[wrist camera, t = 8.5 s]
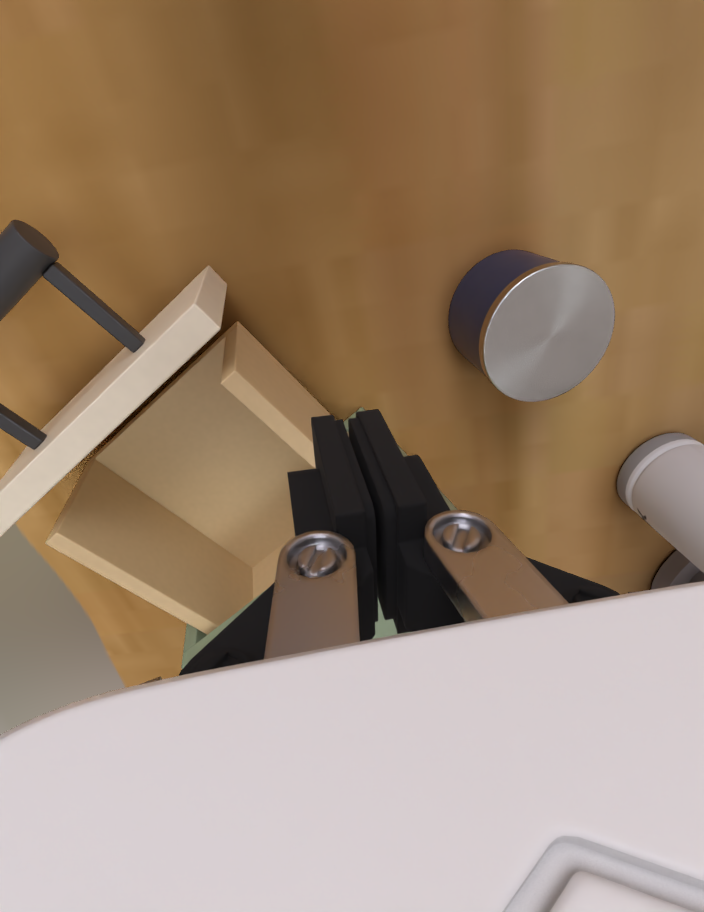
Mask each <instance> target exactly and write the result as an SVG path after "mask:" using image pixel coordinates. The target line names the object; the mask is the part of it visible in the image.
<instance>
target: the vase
mask: <svg viewBox="0 0 704 912" xmlns="http://www.w3.org/2000/svg"><path fill="white" fill-rule="evenodd" d="M702 581H704V573H703V572H702V571H701V570H700V569H698V568H697V567H696V566H695V565H694V564H693V563H692V562H691V561H690V560H688V559H687V558H686V557H685V556H684V555H683V554H682V553H681V552H679V551H678V550H676V551H675V552H674V553H673V554H672V555H671V556H670V557H669V558H668V559H667V560H666V561H665V563H664V564H663V565H662V566H661V568H660V569H659V571H658V572H657V574H656V576H655V578H654V580H653V583H652V588H651V590H652V589H659V588H665V587H670V586H676V585H681V584H687V583H695V582H702Z"/></svg>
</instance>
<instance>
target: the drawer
mask: <svg viewBox="0 0 704 912" xmlns="http://www.w3.org/2000/svg"><path fill="white" fill-rule="evenodd" d="M58 258H59V254H58V252H57V250H56V248H55V247H54V246H53V245H52V243H51V242H50V241H49V240H48V239H47V238H46V237H45V236H43V235H42V234H41V233H40V232H38V231H37V230H36V229H34V228H33V227H31V226H30V225H28V224H26V223H24V222H22V221H19V220H13V221H11V222H10V224H9V225H8V226H7V227H6V228H5V229H4V230H3V232H2V233H1V234H0V321H1V320H2V319H3V318H4V317H5V316H6V315H7V313H8V312H9V311H10V310H11V309H12V308H13V307H14V306H15V305H16V304H17V303H18V302H19V300H20V299H21V298H22V297H23V296H24V295H25V294H26V293H27V292H28V291H29V290H30V289H31V287H32V286H33V285H34V284H35V283H36V282H37V281H38V280H39V279H40V278H41V277H42V276H43V277H44V278H45V279H46V280H47V281H49V282H50V283H51V284H52V285H53V286H55V287H56V288H57V289H58V290H59V291H60V292H62V293H63V294H64V295H65V296H66V297H68V298H69V299H70V300H71V301H72V302H73V303H75V304H76V305H77V306H78V307H79V308H81V309H82V310H83V311H84V312H85V313H86V314H88V315H89V316H90V317H91V318H92V319H94V320H95V321H96V322H97V323H98V324H99V325H101V326H102V327H103V328H104V329H105V330H107V331H108V332H109V333H110V334H111V335H112V336H114V337H115V338H116V339H117V340H118V341H120V342H121V343H122V344H123V345H124V346H125V348H124V349H123V350H121V351H120V352H119V353H118V354H117V355H116V356H115V357H114V358H113V359H112V360H111V361H110V362H109V363H108V364H107V365H106V366H105V367H104V368H103V369H102V370H101V371H100V372H99V373H98V374H97V375H96V376H95V377H94V378H93V379H92V380H91V381H90V382H89V383H88V384H87V385H86V386H85V387H84V388H83V389H82V390H81V391H80V392H79V393H78V394H77V395H76V396H75V397H74V398H73V399H72V400H71V401H70V402H69V403H68V404H67V405H66V406H65V407H64V408H63V409H62V410H61V411H60V412H59V413H58V414H57V415H56V416H55V417H53V418H52V419H51V420H50V421H49V422H48V423H47V424H46V425H45V426H44V427H43V428H42V429H41V430H39V429H37V428H36V427H34V426H33V425H31V424H30V423H29V422H27V421H26V420H24V419H23V418H21V417H20V416H18V415H17V414H15V413H14V412H12V411H11V410H9V409H8V408H6V407H5V406H4V405H2V404H1V403H0V428H1V429H2V430H4V431H5V432H7V433H8V434H10V435H11V436H13V437H15V438H16V439H18V440H19V441H21V442H22V443H24V444H25V445H27V447H26V448H25V449H24V451H23V452H22V453H21V455H20V456H19V457H18V458H17V460H16V461H15V462H14V464H13V465H12V466H11V467H10V469H9V470H8V471H7V473H6V474H5V475H4V477H3V478H2V479H1V480H0V537H1V536H2V535H3V534H4V533H5V532H6V531H7V530H8V529H9V528H10V527H11V526H12V525H13V524H15V523H16V522H17V521H18V520H19V519H20V518H21V517H22V516H23V515H24V514H25V513H26V512H27V511H28V510H29V509H30V508H32V507H33V506H34V505H35V504H36V503H37V502H38V501H39V500H40V499H41V498H42V497H43V496H44V495H45V494H46V493H47V492H49V491H50V490H51V489H52V488H53V487H54V486H55V485H56V484H57V483H58V482H59V481H60V480H61V479H62V478H63V477H64V476H66V475H67V474H68V473H69V472H70V471H71V470H72V469H73V468H74V467H75V466H76V465H77V464H78V463H79V462H80V461H81V460H83V459H84V458H85V457H86V456H87V455H88V454H89V453H90V452H91V451H92V450H93V449H94V448H95V447H96V446H97V445H98V444H100V443H101V442H102V441H103V440H104V439H105V438H106V437H107V436H108V435H109V434H110V433H111V432H112V431H113V430H114V429H115V428H117V427H118V426H119V425H120V424H121V423H122V422H123V421H124V420H125V419H126V418H127V417H128V416H129V415H130V414H131V413H132V412H134V411H135V410H136V409H137V408H138V407H139V406H140V405H141V404H142V403H143V402H144V401H145V400H146V399H147V398H148V397H149V396H150V395H152V394H153V393H154V392H155V391H156V390H157V389H158V388H159V387H160V386H161V385H162V384H163V383H164V382H165V381H166V380H167V379H169V378H170V377H171V376H172V375H173V374H174V373H175V372H176V371H177V370H178V369H179V368H180V367H181V366H182V365H183V364H184V363H186V362H187V361H188V360H189V359H190V358H191V357H192V356H193V355H194V354H195V353H196V352H197V351H198V350H199V349H200V348H201V347H203V346H204V345H205V344H206V343H207V342H208V341H209V340H210V339H211V338H212V337H213V336H214V335H215V334H216V333H217V332H218V331H220V329H221V323H222V316H223V310H224V303H225V297H226V290H227V284H226V283H225V282H224V281H223V279H222V278H221V277H220V276H219V275H218V274H217V273H216V272H215V271H214V270H213V269H212V268H211V267H210V266H207V267H206V268H205V269H204V270H203V271H202V272H201V273H200V274H199V275H198V276H197V277H196V278H195V279H194V280H193V281H192V282H191V283H189V284H188V285H187V286H186V287H185V288H184V289H183V290H182V291H181V292H180V293H179V294H178V295H177V296H176V297H175V298H174V299H173V300H172V301H171V302H170V303H169V304H168V305H167V306H166V307H165V308H164V309H163V310H162V311H161V312H160V313H159V314H158V315H157V316H156V317H155V318H154V319H153V320H152V321H151V322H150V323H149V324H148V325H147V326H146V327H145V328H144V329H143V330H142V331H141V332H140V333H138V332H137V331H136V330H135V329H134V328H133V327H131V326H130V325H129V324H128V323H127V322H126V321H125V320H123V319H122V318H121V317H120V316H119V315H118V314H117V313H115V312H114V311H113V310H112V309H111V308H110V307H109V306H107V305H106V304H105V303H104V302H103V301H102V300H101V299H99V298H98V297H97V296H96V295H95V294H94V293H93V292H91V291H90V290H89V289H88V288H87V287H86V286H85V285H83V284H82V283H81V282H80V281H79V280H78V279H77V278H75V277H74V276H73V275H72V274H71V273H70V272H69V271H67V270H66V269H65V268H64V267H63V266H62V265H61V264H59V263H58V262H56V263H55V261H56V260H57V259H58ZM326 415H331V414H330V413H329V412H328V411H327V410H326V409H325V408H324V407H323V406H322V405H321V404H320V403H319V402H318V401H317V400H316V399H315V398H314V397H313V396H312V395H311V394H310V393H309V392H308V391H307V390H306V389H305V388H304V387H303V386H302V385H301V384H300V383H299V382H298V381H297V380H296V379H295V378H294V377H293V376H292V375H291V374H290V373H289V372H288V371H287V370H286V369H285V368H284V367H283V366H282V365H281V364H280V363H279V362H278V361H277V360H276V359H275V358H274V357H273V356H272V355H271V354H270V353H269V352H268V351H267V350H266V349H265V348H264V347H263V346H262V345H261V344H260V343H259V342H258V341H257V340H256V339H255V338H254V337H253V336H252V335H251V334H250V333H249V332H248V331H247V330H246V329H245V328H244V327H243V326H242V325H241V324H240V323H239V322H238V321H237V322H236V323H234V324H233V325H232V326H231V327H230V328H229V329H228V330H227V331H226V332H225V333H224V334H223V335H222V336H221V337H220V338H218V339H217V340H216V341H215V342H214V343H213V344H212V345H211V346H210V347H209V348H208V349H207V350H206V351H205V352H204V353H202V354H201V355H200V356H199V357H198V358H197V359H196V360H195V361H194V362H193V363H192V364H191V365H190V366H189V367H188V368H186V369H185V370H184V371H183V372H182V373H181V374H180V375H179V376H178V377H177V378H176V379H175V380H174V381H173V382H172V383H170V384H169V385H168V386H167V387H166V388H165V389H164V390H163V391H162V392H161V393H160V394H159V395H158V396H157V397H156V398H154V399H153V400H152V401H151V402H150V403H149V404H148V405H147V406H146V407H145V408H144V409H143V410H142V411H141V412H140V413H138V414H137V415H136V416H135V417H134V418H133V419H132V420H131V421H130V422H129V423H128V424H127V425H126V426H125V427H124V428H122V429H121V430H120V431H119V432H118V433H117V434H116V435H115V436H114V437H113V438H112V439H111V440H110V441H109V442H108V443H106V444H105V445H104V446H103V447H102V448H101V449H100V450H99V451H98V452H97V453H96V454H95V455H94V456H93V457H92V458H90V459H89V461H88V463H87V465H86V466H85V468H84V470H83V472H82V474H81V476H80V478H79V480H78V482H77V484H76V485H75V487H74V489H73V491H72V493H71V495H70V497H69V499H68V501H67V502H66V504H65V506H64V508H63V510H62V512H61V514H60V516H59V518H58V519H57V521H56V523H55V525H54V527H53V529H52V531H51V533H50V535H49V536H48V538H47V540H46V542H45V544H47V545H48V546H50V547H52V548H54V549H56V550H57V551H59V552H61V553H63V554H64V555H66V556H68V557H70V558H72V559H73V560H75V561H77V562H79V563H80V564H82V565H84V566H86V567H88V568H89V569H91V570H93V571H95V572H96V573H98V574H100V575H102V576H104V577H105V578H107V579H109V580H111V581H112V582H114V583H116V584H118V585H120V586H121V587H123V588H125V589H127V590H129V591H130V592H132V593H134V594H136V595H137V596H139V597H141V598H143V599H145V600H146V601H148V602H150V603H152V604H153V605H155V606H157V607H159V608H161V609H162V610H164V611H166V612H168V613H169V614H171V615H173V616H175V617H177V618H178V619H180V620H182V621H184V622H185V623H187V624H189V625H191V626H193V627H194V628H196V629H198V630H200V631H202V632H203V633H205V634H207V635H208V634H209V633H210V632H212V631H213V630H214V629H216V628H217V627H218V626H220V625H221V624H222V623H223V622H225V621H226V620H227V619H229V618H230V617H231V616H232V615H234V614H235V613H236V612H238V611H239V610H240V609H242V608H243V607H244V606H245V605H247V604H248V603H249V602H251V601H252V600H253V599H254V598H256V597H257V596H258V595H260V594H261V593H262V592H264V591H265V590H266V589H267V588H269V587H270V586H271V585H272V584H273V583H274V582H275V577H276V570H277V563H278V557H279V554H280V551H281V549H282V548H283V547H284V545H285V544H286V543H287V542H288V541H290V540H291V539H293V538H294V537H295V531H294V523H293V515H292V507H291V498H290V490H289V482H288V474H287V472H292V471H300V470H307V469H315V468H316V467H315V457H314V447H313V437H312V427H311V417H318V416H326ZM347 433H348V432H347ZM348 436H349V433H348Z"/></svg>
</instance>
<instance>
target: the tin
mask: <svg viewBox="0 0 704 912" xmlns="http://www.w3.org/2000/svg"><path fill="white" fill-rule="evenodd" d="M448 320H449V331H450V335H451V338H452V341H453V343H454V345H455V347H456V348H457V350H458V351H459V352H460V353H461V354H462V355H463V356H464V357H465V358H466V359H467V360H468V361H469V362H471V363H472V364H473V365H474V366H475V367H476V368H477V369H478V370H480V371H481V372H482V373H483V374H484V375H485V376H486V377H487V378H488V380H489V381H490V382H491V383H492V384H493V385H494V386H495V387H496V388H497V389H498V390H499V391H500V392H502V393H503V394H505V395H506V396H508V397H510V398H513V399H516V400H520V401H527V402H536V401H543V400H548V399H551V398H554V397H557V396H559V395H561V394H564V393H566V392H567V391H569V390H571V389H572V388H574V387H575V386H576V385H578V384H579V383H580V382H581V381H583V380H584V379H585V378H586V377H587V376H588V375H589V374H590V373H591V372H592V371H593V369H594V368H595V367H596V366H597V364H598V363H599V361H600V360H601V358H602V357H603V355H604V353H605V351H606V349H607V347H608V345H609V342H610V339H611V336H612V332H613V328H614V321H615V309H614V302H613V298H612V295H611V292H610V290H609V288H608V286H607V285H606V283H605V282H604V280H603V279H602V278H601V277H600V276H599V275H598V274H596V273H595V272H594V271H592V270H590V269H588V268H586V267H584V266H580V265H577V264H574V263H568V262H559V261H556V260H553V259H550V258H546V257H543V256H540V255H537V254H534V253H530V252H527V251H523V250H506V251H501V252H498V253H495V254H493V255H490V256H488V257H486V258H485V259H483V260H482V261H480V262H479V263H477V264H476V265H475V266H474V267H473V268H472V269H471V270H470V271H469V272H468V273H467V274H466V275H465V276H464V278H463V279H462V280H461V282H460V284H459V285H458V287H457V289H456V291H455V293H454V295H453V298H452V301H451V305H450V309H449V318H448Z"/></svg>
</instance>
